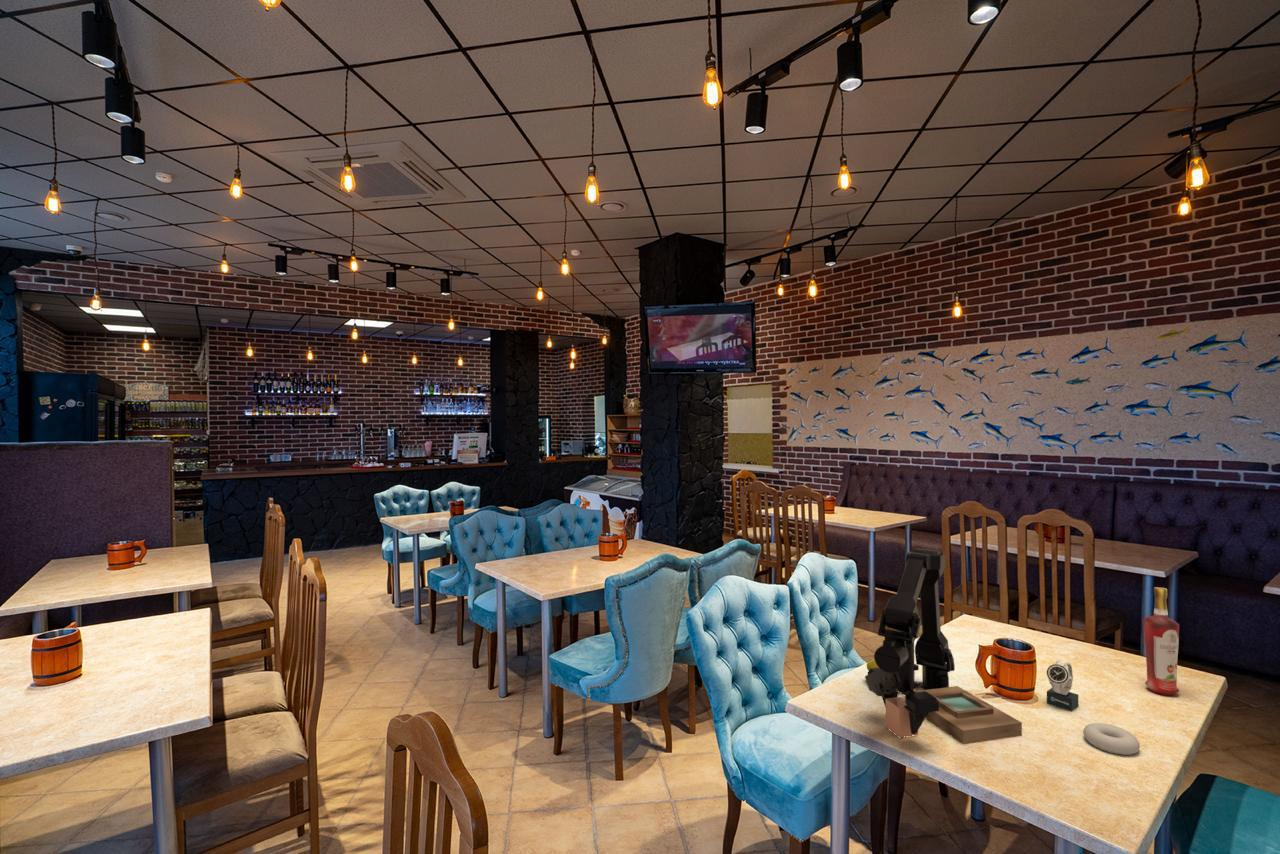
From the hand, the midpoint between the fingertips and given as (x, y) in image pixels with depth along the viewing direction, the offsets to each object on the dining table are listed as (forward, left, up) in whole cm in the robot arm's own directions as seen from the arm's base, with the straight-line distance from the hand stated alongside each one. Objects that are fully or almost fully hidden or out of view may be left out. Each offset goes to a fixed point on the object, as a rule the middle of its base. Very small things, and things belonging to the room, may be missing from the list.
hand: (901, 724), depth 138 cm
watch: (-2, +49, -2) cm, 49 cm away
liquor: (-2, +82, -2) cm, 82 cm away
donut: (+16, +42, -2) cm, 45 cm away
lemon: (-22, +12, -2) cm, 25 cm away
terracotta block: (0, 0, -2) cm, 2 cm away
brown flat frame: (-2, +18, -2) cm, 18 cm away
